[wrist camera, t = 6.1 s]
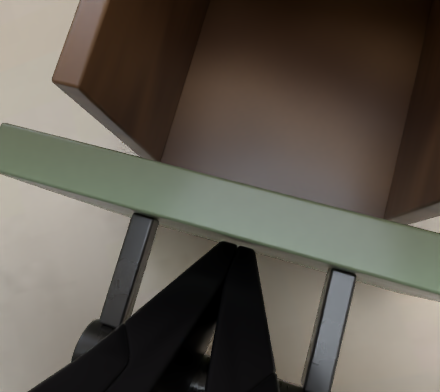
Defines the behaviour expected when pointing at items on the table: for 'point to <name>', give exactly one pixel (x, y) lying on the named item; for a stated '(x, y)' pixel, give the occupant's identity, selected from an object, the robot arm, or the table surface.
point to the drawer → (256, 142)
